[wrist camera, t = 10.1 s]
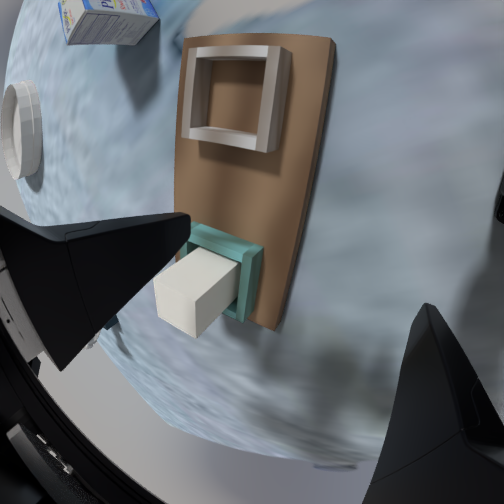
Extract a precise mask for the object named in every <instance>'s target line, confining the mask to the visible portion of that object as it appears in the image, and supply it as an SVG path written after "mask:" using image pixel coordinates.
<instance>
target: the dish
mask: <svg viewBox="0 0 504 504" xmlns="http://www.w3.org/2000/svg"><path fill="white" fill-rule="evenodd" d="M1 134H2V144H3V150H4V156H5V160H6V164H7V167H8V170H9V172H10V174H11V176H12V177H13V178H14V179H15V180H18V179H20V178H22V177H25V176H26V177H27V176H30V175H33V174H34V173H36V172H37V170H38V168H39V165H40V160H41V152H42V116H41V107H40V100H39V95H38V91H37V88H36V85H35V84H34V82H33V81H32V80H26V81H21V82H20V83H16V84H11V85H9V86H8V87H7V90H6V92H5V95H4V99H3V105H2V115H1Z"/></svg>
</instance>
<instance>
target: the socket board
mask: <svg viewBox="0 0 504 504" xmlns="http://www.w3.org/2000/svg"><path fill="white" fill-rule="evenodd" d="M335 45H336V43H335V42H334V41H333V40H332V39H331V38H328V37H319V36H310V35H297V34H278V33H241V34H222V35H209V36H200V37H191V38H184V44H183V52H182V60H181V70H180V80H179V91H178V104H177V119H176V137H175V167H174V212H183V213H186V214H189V215H190V217H191V236H190V238H189V240H188V241H187V242H186V243H185V244H184V245H183V247H182V248H181V249H180V250H179V251H178V252H177V253H176V255H175V259H176V262H178V261H179V260H181V259H182V258H184V257H185V256H187V255H188V254H190V253H191V252H192V251H194V250H195V249H197V248H198V247H200V246H202V247H204V248H207V249H209V250H212V251H214V252H217V253H219V254H221V255H224V256H226V257H229V258H231V259H234V260H236V261H239V262H241V263H242V266H241V275H240V284H239V293H238V296H237V297H236V298H235V300H234V301H233V302H232V303H231V304H230V305H229V306H228V307H227V308H226V309H225V310H224V311H223V312H222V313H223V314H225V315H227V316H229V317H231V318H233V319H235V320H237V321H240V322H242V323H244V322H245V320H246V319H248V320H251V321H253V322H255V323H257V324H259V325H261V326H264V327H266V328H268V329H270V330H273V331H275V329H276V328H277V326H278V325H279V323H280V322H281V318H282V314H283V310H284V306H285V302H286V298H287V294H288V290H289V286H290V282H291V278H292V274H293V270H294V266H295V262H296V257H297V253H298V249H299V244H300V240H301V236H302V231H303V227H304V222H305V217H306V213H307V208H308V203H309V198H310V194H311V189H312V184H313V179H314V174H315V169H316V163H317V158H318V153H319V147H320V142H321V136H322V131H323V125H324V119H325V113H326V107H327V101H328V94H329V88H330V81H331V74H332V67H333V60H334V53H335Z"/></svg>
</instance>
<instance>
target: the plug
mask: <svg viewBox="0 0 504 504" xmlns="http://www.w3.org/2000/svg"><path fill="white" fill-rule="evenodd" d="M241 266H242V263H241V262H239V261H236V260H234V259H231V258H229V257H226V256H224V255H221V254H219V253H217V252H214V251H212V250H209V249H207V248H204V247H202V246H200V247H198V248H197V249H195V250H194V251H192V252H191V253H190V254H188V255H187V256H185V257H184V258H182V259H181V260H179V261H178V262H176V263H175V264H174V265H172V266H171V267H169V268H168V269H166V270H165V271H164V272H162V273H161V274H159V275H158V276H156V277H155V278H154V279H153V281H154V289H155V297H156V304H157V311H158V316H159V317H160V318H162V319H163V320H165V321H167V322H168V323H170V324H172V325H173V326H175V327H176V328H178V329H180V330H182V331H183V332H185V333H187V334H188V335H190V336H192V337H194V338H195V339H197V338H198V337H199V336H200V335H201V334H202V333H203V332H204V331H205V330H206V329H207V328H208V327H209V325H210V324H211V323H212V322H213V321H214V320H215V319H216V318H217V317H218V316H219V315H220V314H221V313H222V312H223V311H224V310H225V309H226V308H227V307H228V306H229V305H230V304H231V303H232V302H233V301H234V300H235V298H236V297H237V296H238V293H239V284H240V275H241Z"/></svg>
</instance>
